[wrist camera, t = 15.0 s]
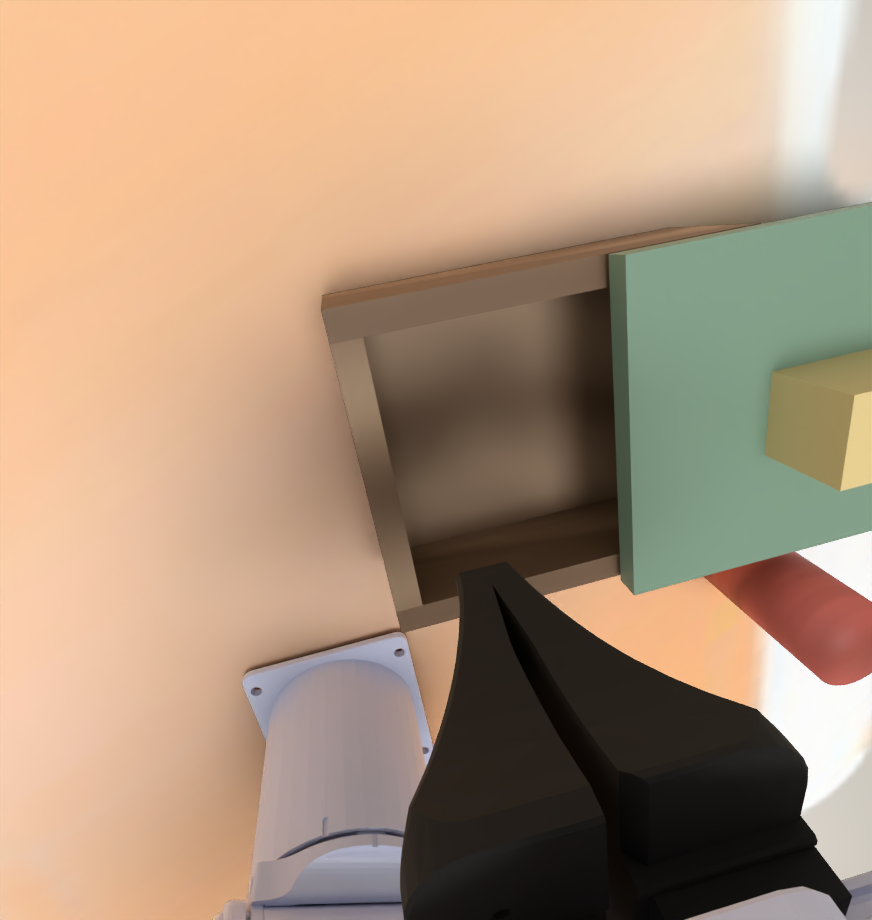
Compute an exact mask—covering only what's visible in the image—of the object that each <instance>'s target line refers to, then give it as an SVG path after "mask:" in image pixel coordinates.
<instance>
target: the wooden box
mask: <svg viewBox="0 0 872 920" xmlns="http://www.w3.org/2000/svg"><path fill="white" fill-rule="evenodd" d="M758 224H761V223H750V224H731V225H712V226H693V227H674V228H665V229H660V230H655V231H650V232H644V233H639V234H634V235H629V236H624V237H619V238H614V239H609V240H603V241H598V242H593V243H588V244H583V245H578V246H573V247H568V248H563V249H557V250H552V251H547V252H542V253H537V254H532V255H527V256H522V257H517V258H511V259H506V260H501V261H496V262H491V263H486V264H481V265H476V266H470V267H465V268H460V269H455V270H450V271H445V272H440V273H435V274H430V275H424V276H419V277H414V278H409V279H404V280H399V281H394V282H389V283H383V284H378V285H373V286H368V287H363V288H358V289H353V290H348V291H343V292H337V293H332V294H327V295H322V306H321V312H322V316H323V320H324V324H325V328H326V332H327V336H328V340H329V344H330V348H331V352H332V356H333V360H334V364H335V368H336V372H337V376H338V380H339V384H340V388H341V392H342V396H343V400H344V404H345V408H346V412H347V416H348V420H349V424H350V428H351V432H352V436H353V440H354V444H355V448H356V452H357V456H358V460H359V464H360V468H361V472H362V476H363V480H364V484H365V488H366V492H367V496H368V500H369V504H370V508H371V512H372V516H373V520H374V524H375V528H376V532H377V536H378V540H379V544H380V548H381V552H382V556H383V560H384V565H385V569H386V573H387V577H388V581H389V585H390V589H391V593H392V597H393V601H394V605H395V609H396V613H397V617H398V621H399V625H400V629H401V633H404V632H408V631H412V630H416V629H419V628H423V627H427V626H430V625H434V624H438V623H442V622H445V621H449V620H453V619H457V618H460V602H459V597H458V591H457V586H456V580H455V577H456V576H457V575H458V573H461V572H465V571H469V570H473V569H477V568H481V567H485V566H489V565H493V564H497V563H501V562H507V563H509V564H510V565H511V566H512V567H513V568H514V569H515V570H516V571H517V572H518V573H519V574H520V575H521V576H522V577H523V578H524V579H525V580H526V581H527V582H528V583H529V584H531V585H532V586H533V587H534V588H535V589H536V590H537V591H538V592H539V593H541V594H542V595H546V594H550V593H554V592H557V591H561V590H565V589H569V588H572V587H576V586H580V585H584V584H587V583H591V582H595V581H599V580H602V579H606V578H610V577H614V576H617V575H621V572H620V546H619V519H618V493H617V466H616V440H615V413H614V387H613V360H612V334H611V307H610V281H609V254H612V253H617V252H622V251H627V250H632V249H637V248H642V247H647V246H652V245H657V244H662V243H668V242H673V241H678V240H683V239H688V238H693V237H698V236H703V235H708V234H713V233H718V232H723V231H728V230H733V229H738V228H743V227H748V226H753V225H758Z"/></svg>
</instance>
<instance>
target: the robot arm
mask: <svg viewBox="0 0 872 920" xmlns="http://www.w3.org/2000/svg"><path fill="white" fill-rule="evenodd" d="M455 580H456V586H457V591H458V597H459V602H460V622H459V639H458V647H457V656H456V663H455V669H454V675H453V680H452V685H451V689H450V694H449V698H448V702H447V705H446V709H445V713H444V717H443V720H442V724H441V727H440V730H439V733H438V736H437V739H436V742H435V744H434V747H433V744H432V739H431V735H430V731H429V727H428V723H427V719H426V715H425V711H424V707H423V703H422V699H421V695H420V691H419V687H418V682H417V678H416V674H415V670H414V666H413V662H412V658H411V654H410V650H409V646H408V642H407V638H406V636H405V634H403V633H401V632H394V633H390V634H386V635H383V636H379V637H375V638H371V639H368V640H364V641H360V642H356V643H353V644H349V645H345V646H342V647H338V648H334V649H330V650H327V651H323V652H319V653H315V654H312V655H308V656H304V657H300V658H297V659H293V660H289V661H285V662H282V663H278V664H274V665H270V666H267V667H263V668H259V669H255V670H252V671H249V672H247V673H246V674H245V675H244V677H243V681H242V685H243V688H244V690H245V693H246V695H247V697H248V700H249V702H250V705H251V707H252V709H253V712H254V714H255V716H256V719H257V721H258V723H259V726H260V728H261V731H262V733H263V735H264V738H265V740H266V742H267V743H266V751H265V759H264V768H263V776H262V784H261V792H260V800H259V809H258V817H257V825H256V833H255V841H254V850H253V858H252V866H251V874H250V882H249V891H248V895H247V899H246V902H245V901H244V900H230V901H228V902H227V903H226V904H225V905H224V907H223V910H222V912H220V913H218V914H217V915H216V916H215V917H214V918H213V919H212V920H872V871H870V872H867V873H864V874H860V875H857V876H854V877H851V878H848V879H845V880H842V881H841V880H840V879H839V878H838V877H837V875H836V874H835V873H834V871H833V870H832V869H831V867H830V866H829V865H828V863H827V862H826V861H825V859H824V858H823V857H822V856H821V854H820V853H819V852H818V850H817V849H816V848H815V847H814V846H815V845H816V844H817V838H816V836H815V834H814V833H813V831H812V830H811V829H810V827H809V826H808V825H807V823H806V822H805V821H804V820H803V818H802V817H801V816H800V815H801V810H802V806H803V801H804V797H805V792H806V788H807V781H808V767H807V765H806V763H805V760H804V758H803V757H802V756H801V755H800V754H799V752H798V751H797V750H796V749H795V748H794V747H793V745H792V744H791V743H790V742H789V741H788V740H787V739H786V738H785V736H784V735H783V734H782V733H781V732H780V731H779V730H778V729H777V728H776V727H775V726H774V725H773V724H772V723H771V722H769V721H768V720H767V719H766V718H765V717H764V716H763V715H762V714H761V713H760V712H759V711H758V710H757V709H754V708H751V707H749V706H746V705H743V704H740V703H737V702H734V701H731V700H728V699H725V698H722V697H719V696H716V695H713V694H711V693H708V692H705V691H703V690H700V689H698V688H695V687H693V686H691V685H688V684H686V683H683V682H681V681H678V680H676V679H674V678H672V677H669V676H667V675H665V674H663V673H661V672H659V671H657V670H655V669H653V668H651V667H649V666H647V665H645V664H643V663H641V662H639V661H637V660H635V659H633V658H631V657H630V656H628V655H626V654H624V653H623V652H621V651H619V650H617V649H616V648H614V647H613V646H611V645H609V644H608V643H606V642H604V641H603V640H601V639H600V638H598V637H597V636H595V635H594V634H592V633H591V632H589V631H588V630H586V629H585V628H584V627H582V626H581V625H580V624H578V623H577V622H575V621H574V620H573V619H571V618H570V617H569V616H567V615H566V614H565V613H563V612H562V611H561V610H560V609H559V608H557V607H556V606H555V605H554V604H552V603H551V602H550V601H549V600H548V599H546V598H545V597H544V596H543V595H542V594H541V593H539V592H538V591H537V590H536V589H535V588H534V587H533V586H532V585H531V584H529V583H528V582H527V581H526V580H525V579H524V578H523V577H522V576H521V575H520V574H519V573H518V572H517V571H516V570H515V569H514V568H513V567H512V566H511V565H510V564H509V563H507V562H501V563H497V564H493V565H489V566H485V567H481V568H477V569H473V570H469V571H465V572H461V573H458V575H457V576H456V577H455ZM400 648H401V649H402V650H401V651H395V650H397V649H400ZM255 687H258V688H261V689H259V690H255V689H253V688H255ZM423 747H425V748H423Z"/></svg>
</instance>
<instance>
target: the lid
mask: <svg viewBox="0 0 872 920" xmlns="http://www.w3.org/2000/svg"><path fill="white" fill-rule="evenodd" d="M609 281H610V307H611V334H612V360H613V387H614V413H615V440H616V466H617V493H618V519H619V546H620V572H621V581H622V582H623V583H624V584H625V585H626V586H627V588H628V589H629V590H630V591H631V592H632V593H633V594H634V595H637V594H641V593H644V592H648V591H652V590H655V589H659V588H663V587H666V586H670V585H674V584H677V583H681V582H685V581H688V580H692V579H696V578H699V577H703V576H707V575H710V574H714V573H718V572H721V571H725V570H729V569H732V568H736V567H740V566H743V565H747V564H751V563H754V562H758V561H762V560H765V559H769V558H773V557H776V556H780V555H784V554H787V553H791V552H795V551H798V550H802V549H806V548H809V547H813V546H817V545H820V544H824V543H828V542H831V541H835V540H839V539H842V538H846V537H850V536H853V535H857V534H861V533H864V532H868V531H872V202H869V203H864V204H859V205H854V206H849V207H844V208H839V209H834V210H829V211H824V212H819V213H814V214H809V215H803V216H798V217H793V218H788V219H783V220H778V221H773V222H768V223H763V224H758V225H753V226H748V227H743V228H738V229H733V230H728V231H723V232H718V233H713V234H708V235H703V236H698V237H693V238H688V239H683V240H678V241H673V242H668V243H662V244H657V245H652V246H647V247H642V248H637V249H632V250H627V251H622V252H617V253H612V254H609Z"/></svg>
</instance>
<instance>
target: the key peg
mask: <svg viewBox="0 0 872 920" xmlns="http://www.w3.org/2000/svg"><path fill="white" fill-rule="evenodd" d="M704 577H705V578H706V579H707V580H708V581H709V582H710V583H712V584H713V585H714V586H715V587H716V588H717V589H718V590H720V591H721V592H722V593H723V594H724V595H725V596H726V597H727V598H729V599H730V600H731V601H732V602H733V603H734V604H735V605H737V606H738V607H739V608H740V609H741V610H742V611H743V612H745V613H746V614H747V615H748V616H749V617H750V618H751V619H753V620H754V621H755V622H756V623H757V624H758V625H759V626H761V627H762V628H763V629H764V630H765V631H766V632H767V633H768V634H770V635H771V636H772V637H773V638H774V639H775V640H776V641H778V642H779V643H780V644H781V645H782V646H783V647H784V648H786V649H787V650H788V651H789V652H790V653H791V654H792V655H794V656H795V657H796V658H797V659H798V660H799V661H800V662H802V663H803V664H804V665H805V666H806V667H807V668H808V669H809V670H811V671H812V672H813V673H814V674H815V675H816V676H817V677H819V678H820V679H821V680H822V681H823V682H825V683H827V684H830V685H846V684H850V683H853V682H856V681H858V680H860V679H862V678H864V677H866V676H867V675H869V674H870V673H872V602H871V601H869V600H868V599H866V598H865V597H863V596H862V595H860V594H859V593H857V592H856V591H854V590H853V589H851V588H850V587H848V586H846V585H845V584H843V583H842V582H840V581H839V580H837V579H836V578H834V577H833V576H831V575H830V574H828V573H827V572H825V571H824V570H822V569H820V568H819V567H817V566H816V565H814V564H813V563H811V562H810V561H808V560H807V559H805V558H804V557H802V556H801V555H799V554H798V553H796V552H791V553H787V554H784V555H780V556H776V557H773V558H769V559H765V560H762V561H758V562H754V563H751V564H747V565H743V566H740V567H736V568H732V569H729V570H725V571H721V572H718V573H714V574H710V575H707V576H704Z"/></svg>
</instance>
